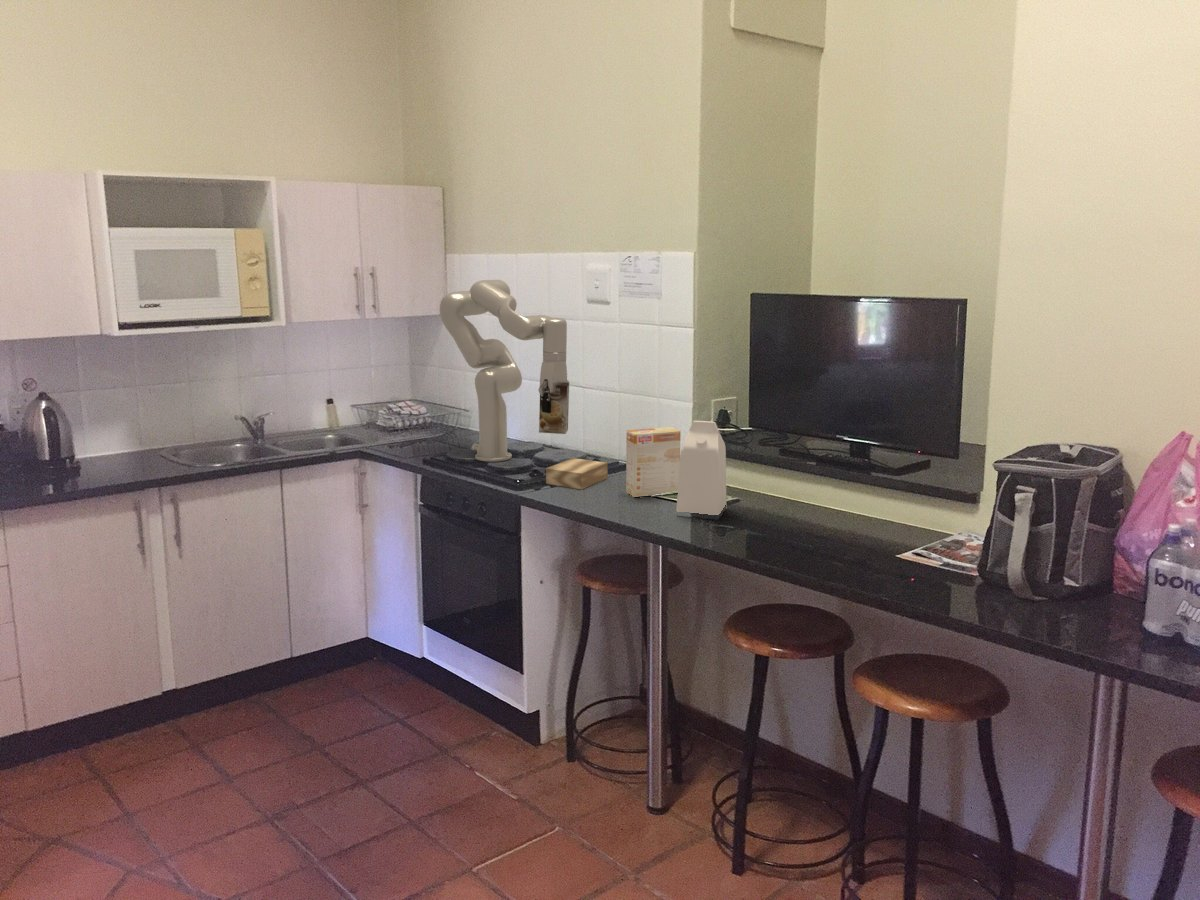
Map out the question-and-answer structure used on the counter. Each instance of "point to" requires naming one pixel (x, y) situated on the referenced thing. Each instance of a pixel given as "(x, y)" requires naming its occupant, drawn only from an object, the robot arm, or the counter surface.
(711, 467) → the milk
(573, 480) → the oak block
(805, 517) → the counter surface
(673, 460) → the coffeecake box
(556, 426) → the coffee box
